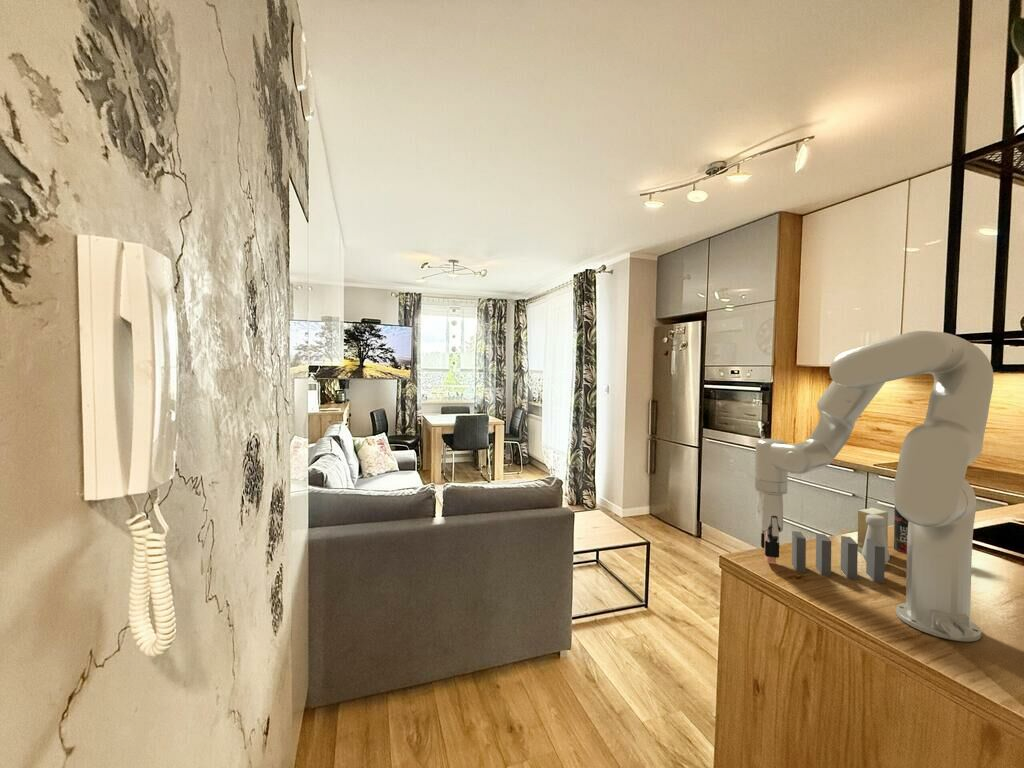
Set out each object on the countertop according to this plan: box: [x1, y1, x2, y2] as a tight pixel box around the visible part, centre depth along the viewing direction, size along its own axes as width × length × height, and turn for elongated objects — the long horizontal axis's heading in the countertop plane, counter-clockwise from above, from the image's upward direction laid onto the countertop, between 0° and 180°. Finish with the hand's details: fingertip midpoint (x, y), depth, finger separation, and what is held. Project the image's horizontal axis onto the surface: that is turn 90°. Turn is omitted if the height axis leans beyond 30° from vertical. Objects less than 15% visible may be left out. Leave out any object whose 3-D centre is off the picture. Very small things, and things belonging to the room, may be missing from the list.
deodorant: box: [893, 506, 909, 555], centre depth 127 cm, size 6×6×15 cm
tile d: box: [865, 539, 886, 584], centre depth 111 cm, size 5×2×9 cm, turn 160°
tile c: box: [840, 535, 858, 580], centre depth 113 cm, size 5×2×9 cm, turn 160°
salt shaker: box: [861, 514, 891, 566], centre depth 119 cm, size 6×6×13 cm
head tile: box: [763, 528, 777, 564], centre depth 119 cm, size 5×2×9 cm, turn 159°
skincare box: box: [857, 507, 889, 554], centre depth 126 cm, size 6×4×12 cm
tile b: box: [815, 533, 832, 577], centre depth 115 cm, size 5×2×9 cm, turn 159°
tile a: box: [791, 530, 807, 574], centre depth 116 cm, size 5×2×9 cm, turn 159°
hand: (769, 551), depth 119 cm, fingers closed on head tile, 4 cm apart
